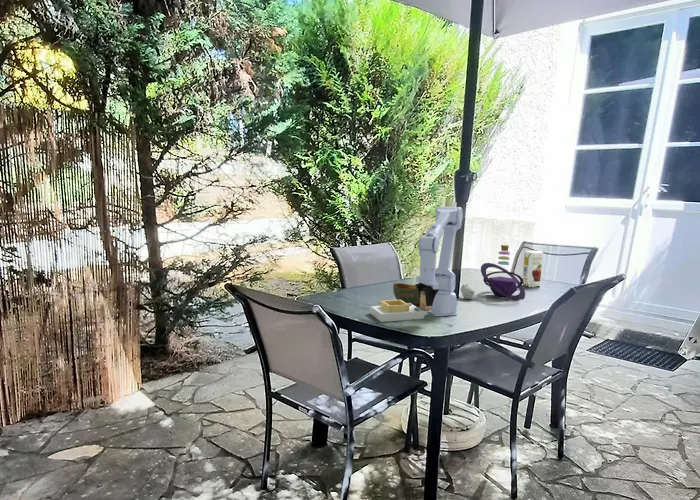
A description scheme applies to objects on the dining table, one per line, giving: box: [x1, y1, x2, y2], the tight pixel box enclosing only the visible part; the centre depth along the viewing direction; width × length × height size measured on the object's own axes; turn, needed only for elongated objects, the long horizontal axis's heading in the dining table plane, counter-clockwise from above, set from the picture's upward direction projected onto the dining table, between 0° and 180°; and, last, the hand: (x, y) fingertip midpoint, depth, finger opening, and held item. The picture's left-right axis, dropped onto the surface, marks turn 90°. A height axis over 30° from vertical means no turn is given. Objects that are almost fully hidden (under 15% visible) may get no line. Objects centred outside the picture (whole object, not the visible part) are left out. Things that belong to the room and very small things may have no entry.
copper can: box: [420, 290, 432, 312], centre depth 168 cm, size 4×4×7 cm
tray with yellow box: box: [370, 299, 425, 323], centre depth 180 cm, size 18×12×6 cm, turn 108°
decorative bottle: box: [480, 244, 526, 301], centre depth 215 cm, size 22×21×25 cm
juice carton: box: [521, 250, 544, 287], centre depth 241 cm, size 8×9×19 cm
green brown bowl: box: [392, 282, 420, 308], centre depth 198 cm, size 13×20×10 cm, turn 28°
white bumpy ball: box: [460, 283, 475, 300], centre depth 211 cm, size 6×7×7 cm
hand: (426, 304), depth 169 cm, fingers closed on copper can, 4 cm apart
